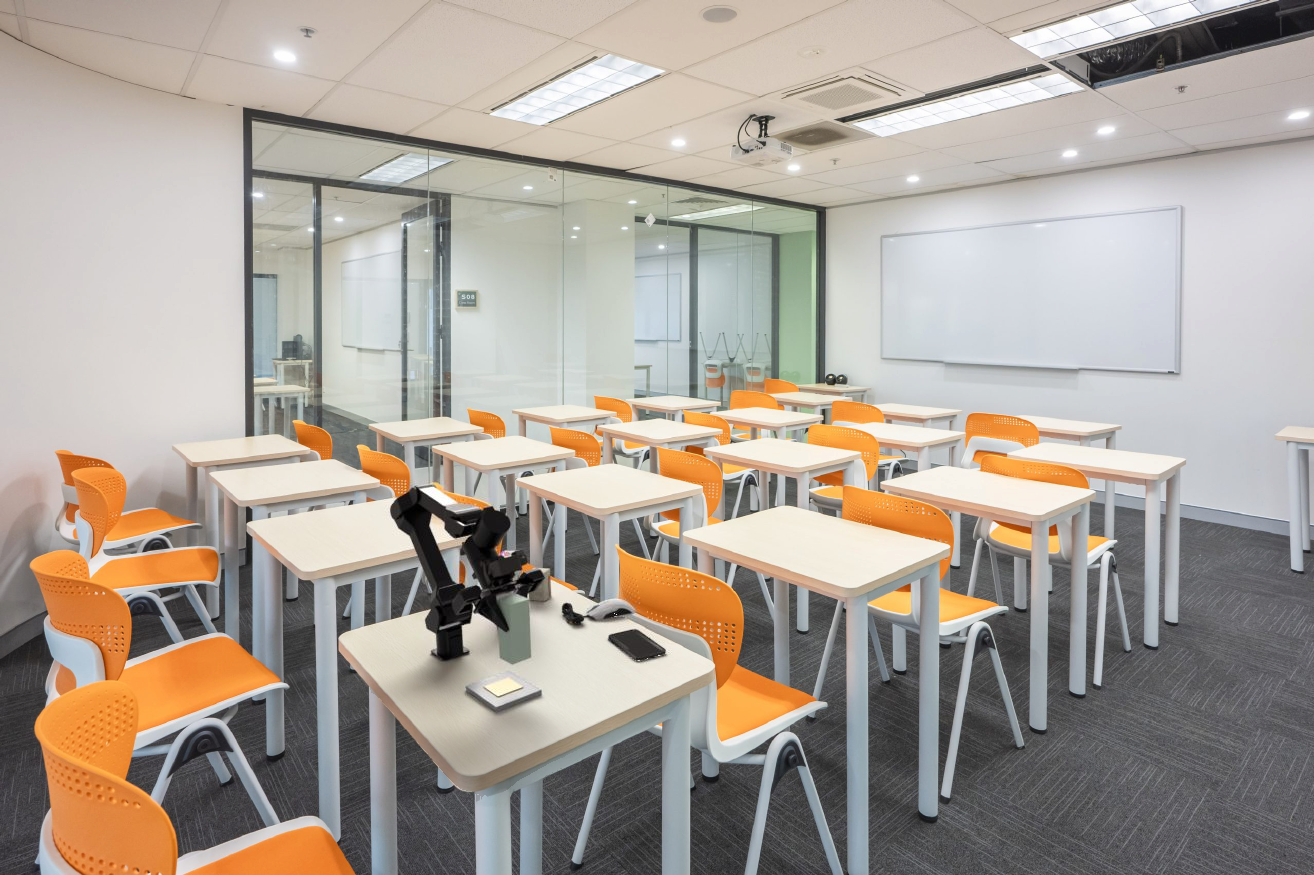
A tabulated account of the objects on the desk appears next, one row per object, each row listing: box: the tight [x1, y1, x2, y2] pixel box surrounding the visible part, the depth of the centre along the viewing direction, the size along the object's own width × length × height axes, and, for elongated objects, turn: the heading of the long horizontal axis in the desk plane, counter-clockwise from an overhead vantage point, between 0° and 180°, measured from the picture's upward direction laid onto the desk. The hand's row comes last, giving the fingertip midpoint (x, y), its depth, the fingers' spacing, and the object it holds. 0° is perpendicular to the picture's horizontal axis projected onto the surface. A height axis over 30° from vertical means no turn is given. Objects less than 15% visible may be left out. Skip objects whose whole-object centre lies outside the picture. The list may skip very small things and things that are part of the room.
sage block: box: [497, 594, 532, 666], centre depth 143 cm, size 4×4×12 cm
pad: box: [465, 669, 543, 713], centre depth 144 cm, size 12×10×1 cm
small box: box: [528, 567, 552, 602], centre depth 197 cm, size 5×4×8 cm
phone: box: [607, 628, 667, 661], centre depth 165 cm, size 8×1×15 cm
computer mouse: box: [561, 598, 636, 626], centre depth 184 cm, size 10×18×4 cm, turn 111°
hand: (518, 627), depth 142 cm, fingers closed on sage block, 4 cm apart
